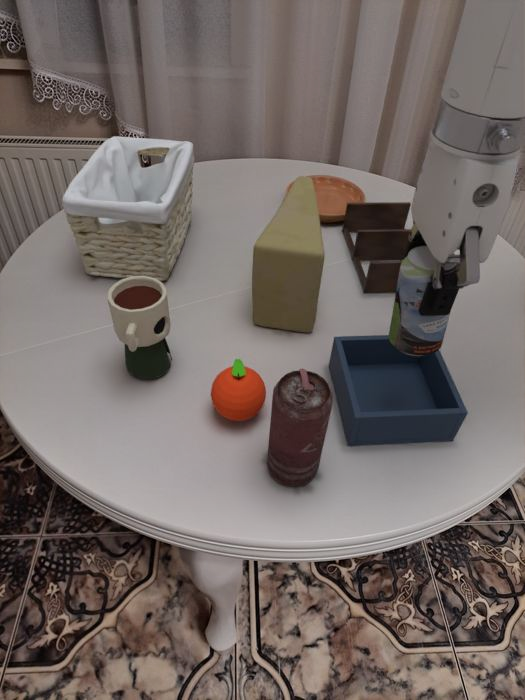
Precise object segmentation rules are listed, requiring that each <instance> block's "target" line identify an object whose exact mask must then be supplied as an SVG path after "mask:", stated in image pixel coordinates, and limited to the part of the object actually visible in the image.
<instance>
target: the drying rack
mask: <svg viewBox="0 0 525 700" xmlns="http://www.w3.org/2000/svg"><path fill="white" fill-rule="evenodd" d="M411 207H412V203H411V202H409V201H404V202H403V201H402V202H398V201H397V202H396V201H395V202H387V201H386V202H379V201H378V202H365V203H347V206H346V211H345V217H344V220H343V224H342V230H341V232H342V233H343V236H344V239H345V241H346V245H347V247H348V250H349V253H350V256H351V260H352V262H353V265H354V267H355V270H356V273H357V275H358V279H359V282H360V284H361V287H362V290H363V291H362V292H363V294H382V293H383V294H385V293H386V294H387V293H388V294H389V293H392V294H393V293H396V289H397V283H398V277H399V271H400V266H401V263H402V261H403V259H404V256H405V252H406V248H407V245H408V243H412V242H413V241H409V232H410V230H411V228H407V229H405V227H406V224H407V220H408V216H409V213H410V210H411ZM351 233H356V236H355V242H354V241H353V238H352V236H351ZM362 261H369V264H368V268H367V272H366V273H365V271H364V268H363V265H362Z"/></svg>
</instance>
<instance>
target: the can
mask: <svg viewBox="0 0 525 700" xmlns="http://www.w3.org/2000/svg"><path fill="white" fill-rule="evenodd" d="M271 400H272V401H271V409H270V410H271V411H270V422H269V423H270V425H269V434H268V447H267V457H266V458H267V459H266V466H267V469H268V472H269V473H270V474H271V476H272V477H273V478H274V479H275V480H276V481H277V482H279V483H281V484H283V485H285V486H291V487H297V486H304V485H305V484H307V483H309V482H311V481H312V480H313V479H314V478H315V477H316V475H317V474H318V472H319V466H320V462H321V457H322V453H323V449H324V444H325V441H326V440H325V439H326V435H327V431H328V427H329V421H330V418H331V413H332V408H333V404H334V395H333V392H332V389H331V388H330V385H329V383H328V381H327V380H326V379H325V378H324V377H323V376H321V375H319V373H316V372H314V371H311V370H307V369H305V368H299V370H293V371H290V372H287V373H285V374H284V375H283V376H282V377H280V379H279V381H277V382H276V384H275V386H274V387H273V390H272V398H271Z"/></svg>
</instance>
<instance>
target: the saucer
mask: <svg viewBox="0 0 525 700" xmlns="http://www.w3.org/2000/svg"><path fill="white" fill-rule="evenodd" d="M304 177H311V178H312V180H313V184H314V189H315V193H316V198H317V203H318V210H319V218H320V223H328V224H329V223H340V222H344V217H345V211H346V206H347V203H366V195H365V192H364V191H363V189H361V187H360V186H358V185H357V184H356V183H354V182H352V181H350V180H348V179H345V178H342V177H339V176H334V175H328V174H312V175H306V176H304ZM294 182H295V180H293V181H292V182H290V183H289V184H288V185H287V187H286V189H285V197H286V196H287V194H288V192H289V190H290V188H291V187H292V185H293V183H294Z"/></svg>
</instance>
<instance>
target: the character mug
mask: <svg viewBox="0 0 525 700" xmlns="http://www.w3.org/2000/svg"><path fill="white" fill-rule="evenodd" d="M107 304H108V309H109V312H110V316H111V321H112V324H113V329H114V333H115V334H116V336H117V338H118V340H119V342H121V343H122V344H124V360H125V367H126V370H127V372H128V373H130V374H131V375H132V376H134V377H138V378H142V379H157V378H159V377H162V376H163V375H165V374H166V373H167V372H168V371H169V370H170V369H171V362H172V361H173V357H172V354H171V351H170V348H169V345H168V342H167V339H166V338H167V336H169V334H170V333H171V326H172V325H171V317H170V308H169V299H168V292H167V288H166V286H165V285H164V283H163V281H158V280H157V279H155V278H152V277H147V276H132V277H128V278H121V279H119V280H118V281H117V282H115V283H114V284H112V286H111V287H109V289H108V291H107ZM169 357H170V358H169ZM170 361H171V362H170Z"/></svg>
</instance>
